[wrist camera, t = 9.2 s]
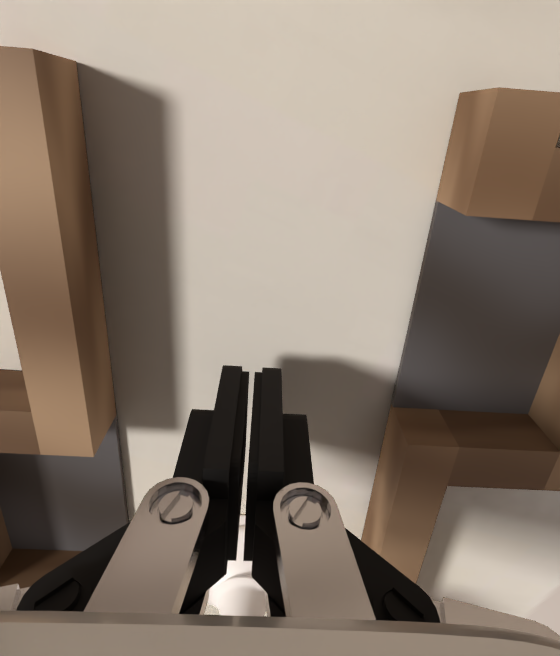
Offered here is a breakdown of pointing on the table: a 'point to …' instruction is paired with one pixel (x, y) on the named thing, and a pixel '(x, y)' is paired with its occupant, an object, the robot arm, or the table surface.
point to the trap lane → (416, 362)
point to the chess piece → (238, 586)
